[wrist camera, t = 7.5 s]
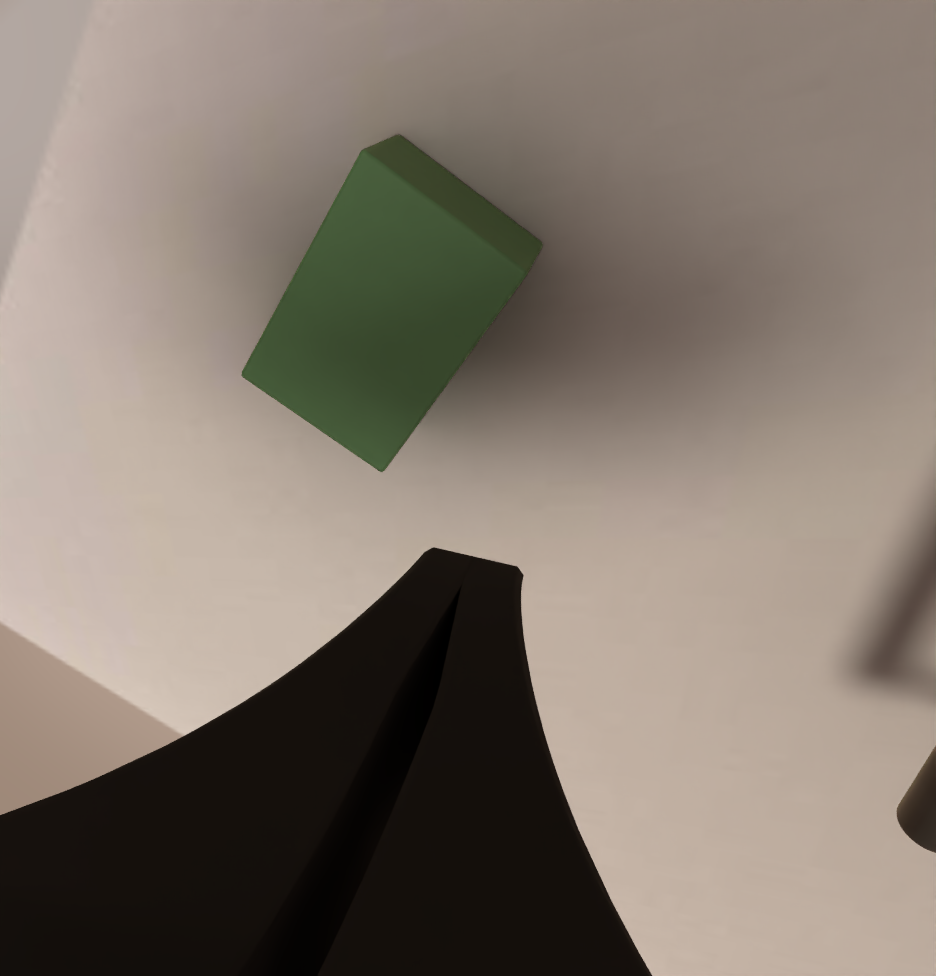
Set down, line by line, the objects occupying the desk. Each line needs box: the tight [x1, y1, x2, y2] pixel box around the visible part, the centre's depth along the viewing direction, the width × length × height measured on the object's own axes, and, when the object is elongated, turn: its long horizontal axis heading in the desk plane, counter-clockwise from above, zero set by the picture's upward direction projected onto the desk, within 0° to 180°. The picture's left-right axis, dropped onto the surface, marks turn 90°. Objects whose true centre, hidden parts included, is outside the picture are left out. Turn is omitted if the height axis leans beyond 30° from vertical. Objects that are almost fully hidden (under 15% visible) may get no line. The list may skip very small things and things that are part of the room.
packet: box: [242, 135, 543, 472], centre depth 18 cm, size 6×4×2 cm, turn 146°
